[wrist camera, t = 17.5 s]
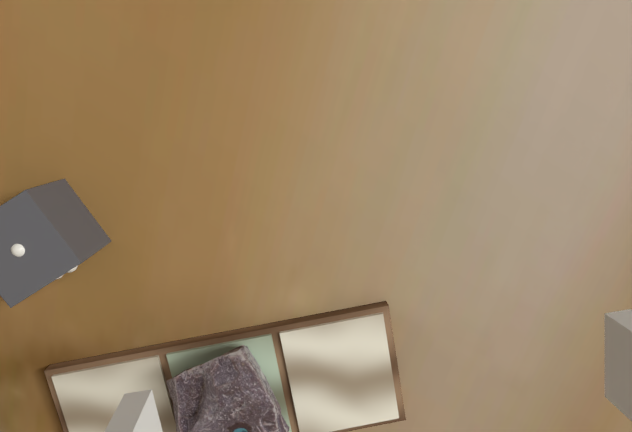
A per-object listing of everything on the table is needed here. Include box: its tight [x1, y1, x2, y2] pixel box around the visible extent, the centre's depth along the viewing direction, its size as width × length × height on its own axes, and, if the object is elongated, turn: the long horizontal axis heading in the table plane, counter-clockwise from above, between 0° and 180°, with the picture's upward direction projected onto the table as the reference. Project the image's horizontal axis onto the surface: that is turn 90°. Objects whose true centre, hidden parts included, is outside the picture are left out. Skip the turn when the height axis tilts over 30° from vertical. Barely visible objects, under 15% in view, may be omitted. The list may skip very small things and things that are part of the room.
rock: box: [166, 345, 290, 432], centre depth 39 cm, size 8×11×5 cm
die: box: [0, 179, 111, 308], centre depth 36 cm, size 6×6×6 cm
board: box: [44, 301, 406, 432], centre depth 42 cm, size 11×29×1 cm, turn 100°
